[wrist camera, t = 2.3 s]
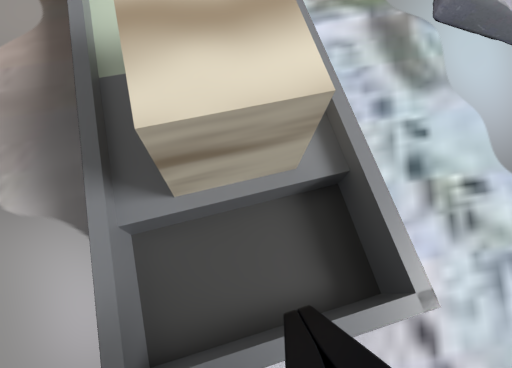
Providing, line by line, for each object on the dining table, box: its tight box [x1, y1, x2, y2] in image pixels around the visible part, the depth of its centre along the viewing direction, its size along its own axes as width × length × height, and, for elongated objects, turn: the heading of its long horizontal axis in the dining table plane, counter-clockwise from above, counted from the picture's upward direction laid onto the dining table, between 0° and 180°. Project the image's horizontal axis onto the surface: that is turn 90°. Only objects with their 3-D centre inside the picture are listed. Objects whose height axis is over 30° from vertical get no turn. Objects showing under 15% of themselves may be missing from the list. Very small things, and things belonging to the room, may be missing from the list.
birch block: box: [114, 0, 335, 197], centre depth 17 cm, size 10×8×8 cm
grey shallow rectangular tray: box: [67, 0, 441, 368], centre depth 23 cm, size 38×17×4 cm, turn 16°
